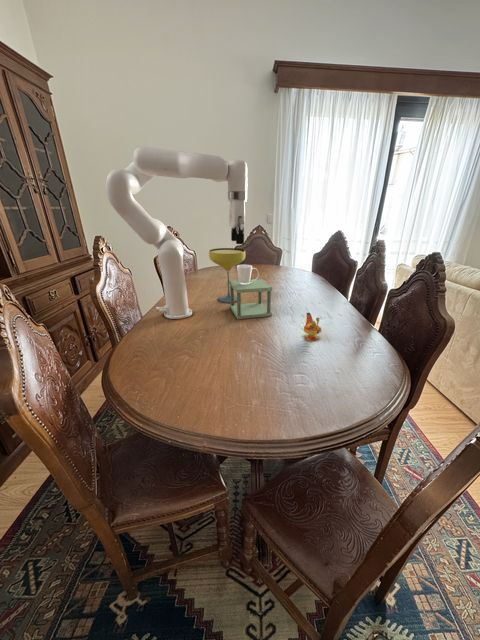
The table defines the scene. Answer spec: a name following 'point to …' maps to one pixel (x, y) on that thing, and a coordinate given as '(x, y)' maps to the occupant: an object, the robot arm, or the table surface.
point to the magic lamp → (312, 328)
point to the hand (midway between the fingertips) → (237, 242)
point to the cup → (245, 274)
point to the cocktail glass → (227, 263)
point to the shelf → (250, 308)
